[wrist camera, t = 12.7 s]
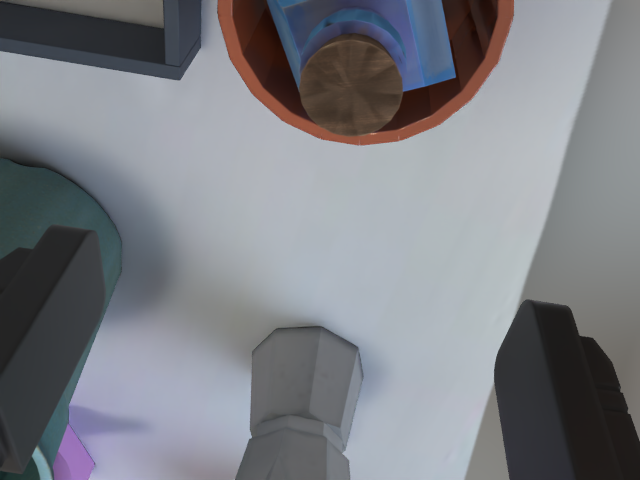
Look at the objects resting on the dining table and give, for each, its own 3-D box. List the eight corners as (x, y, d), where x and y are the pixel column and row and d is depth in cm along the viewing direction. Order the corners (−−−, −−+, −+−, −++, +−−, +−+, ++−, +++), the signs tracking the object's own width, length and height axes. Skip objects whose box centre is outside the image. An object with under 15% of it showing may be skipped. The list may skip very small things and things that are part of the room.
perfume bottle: (320, 55, 30) (289, 192, 21) (278, -77, 27) (217, 20, 18) (445, 21, 29) (470, 154, 20) (418, -124, 25) (432, -45, 16)
